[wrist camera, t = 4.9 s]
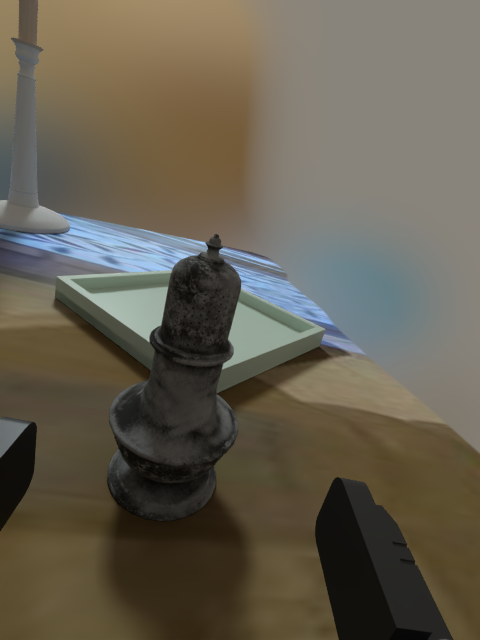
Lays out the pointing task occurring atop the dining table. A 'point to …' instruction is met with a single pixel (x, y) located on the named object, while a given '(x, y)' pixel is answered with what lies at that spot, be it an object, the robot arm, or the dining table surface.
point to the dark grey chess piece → (179, 397)
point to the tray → (147, 312)
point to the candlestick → (27, 140)
